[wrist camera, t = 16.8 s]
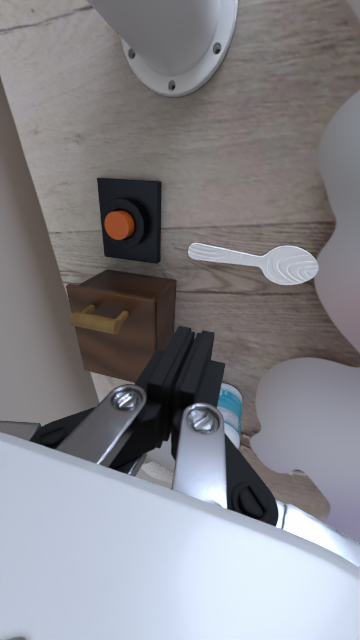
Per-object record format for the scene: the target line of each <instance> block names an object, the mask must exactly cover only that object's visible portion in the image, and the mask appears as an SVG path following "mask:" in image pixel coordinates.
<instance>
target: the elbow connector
mask: <svg viewBox="0 0 360 640" xmlns="http://www.w3.org/2000/svg"><path fill="white" fill-rule="evenodd" d="M151 461H154V462H156V463H157V464H159V465H161V466H163V467H164V468H166V469H168V470H169V471H171V472H173V473H174V467H175V461H174V459H173V457H172V455H171V434H170V437H169V440H168V441H167V442H166V441H163V443H162V446H161V448H160V449H159V448H155V449H154V450H151V451H149V452H148V453H147V457H146V459H145V461H144V463H143V464H145V463H149V462H151Z"/></svg>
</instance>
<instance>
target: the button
mask: <svg viewBox="0 0 360 640" xmlns="http://www.w3.org/2000/svg"><path fill="white" fill-rule="evenodd" d="M105 229H106V231H107V233H108V234H109V236H110V237H112V238H113V239H116V240H122V239H124V238H127V237H129V236H131V235H132V234H133V232H134V229H135V223H134V220H133V218H132V216H131V215H130V214H129V213H128V212H126V211H123V210H120V211H114V212H110V213H109V214H108V215H107V216H106V218H105Z"/></svg>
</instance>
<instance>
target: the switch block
mask: <svg viewBox="0 0 360 640" xmlns="http://www.w3.org/2000/svg"><path fill="white" fill-rule="evenodd" d="M97 182H98V192H99V202H100V213H101V224H102V233H103V244H104V254H105V256H106V257H113V258H120V259H128V260H135V261H142V262H149V263H158V262H160V238H161V182H158V181H142V180H125V179H109V178H97ZM120 210H123V211H126V212H128V213H129V214H130V215H131V216H132V218H133V220H134V223H135V229H134V232H133V234H132V235H131V236H129V237H127V238H124V239H122V240H116V239H113V238H112V237H110V236H109V234H108V233H107V231H106V229H105V218H106V216H107V215H108V214H109V213H110V212H114V211H120Z"/></svg>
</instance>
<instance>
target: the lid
mask: <svg viewBox="0 0 360 640" xmlns="http://www.w3.org/2000/svg"><path fill="white" fill-rule="evenodd" d="M66 289H67V293H68V298H69V302H70V307H71V311H72V314H71V316H70V323H71V324H72V325H74V326H75V329H76V334H77V338H78V342H79V347H80V351H81V356H82V360H83V365H84V369H85V370H87V371H91V372H95V373H98V374H102V375H106V376H110V377H114V378H118V379H122V380H126V381H130V382H134V383H136V381H137V380H138V378H139V376H140V375H141V373H142V372H143V370H144V369H145V367H146V365H147V364H148V362H149V361H150V359H151V357H152V356H153V354H154V353H155V351H156V334H155V298H149V297H143V296H137V295H132V294H126V293H120V292H114V291H108V290H102V289H96V288H90V287H85V286H79V285H73V284H68V285H67V286H66Z"/></svg>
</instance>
